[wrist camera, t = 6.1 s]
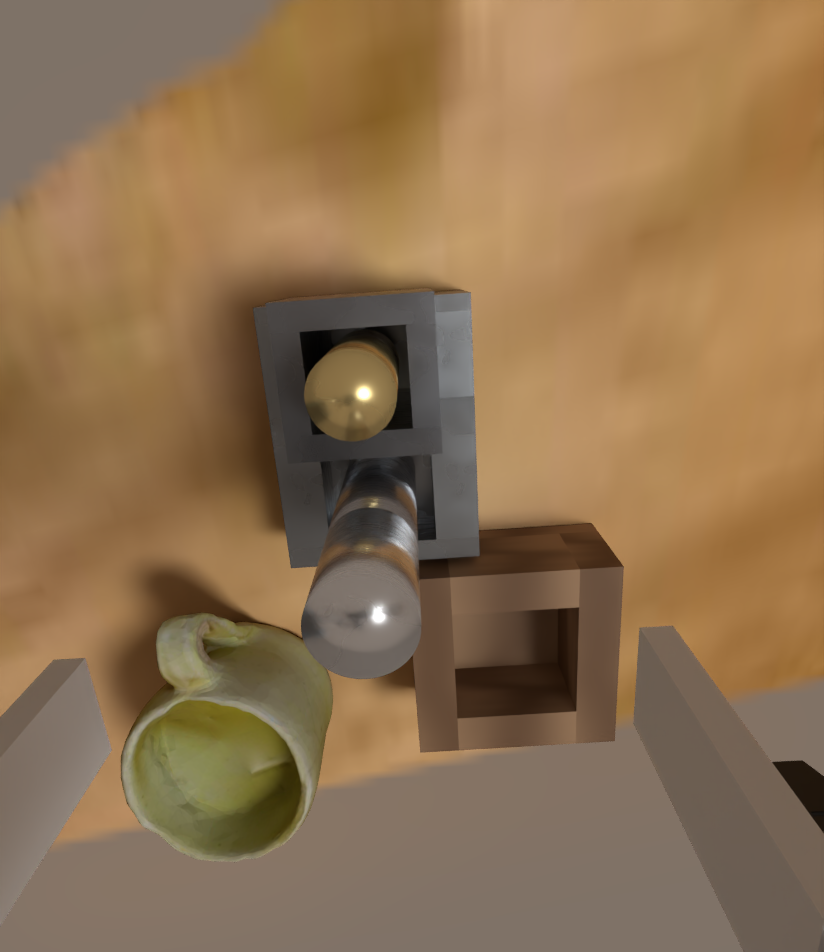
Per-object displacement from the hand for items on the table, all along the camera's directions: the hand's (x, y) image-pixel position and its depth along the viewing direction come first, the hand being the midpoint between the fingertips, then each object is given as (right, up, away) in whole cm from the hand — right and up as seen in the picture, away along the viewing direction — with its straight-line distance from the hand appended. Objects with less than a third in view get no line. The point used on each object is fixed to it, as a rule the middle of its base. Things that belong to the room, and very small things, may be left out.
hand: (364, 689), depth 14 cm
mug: (-8, -5, +21) cm, 23 cm away
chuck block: (-1, +8, +16) cm, 18 cm away
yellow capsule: (-1, +10, +10) cm, 14 cm away
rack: (+6, -2, +20) cm, 21 cm away
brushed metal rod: (0, +5, +16) cm, 17 cm away
